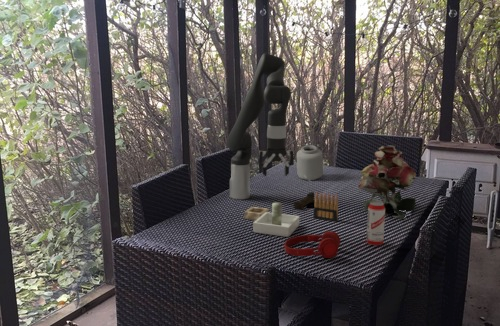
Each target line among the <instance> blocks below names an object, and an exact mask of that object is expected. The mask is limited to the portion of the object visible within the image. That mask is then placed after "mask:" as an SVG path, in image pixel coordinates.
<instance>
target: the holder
mask: <svg viewBox="0 0 500 326" xmlns="http://www.w3.org/2000/svg"><path fill="white" fill-rule="evenodd" d="M265 212H270V208H267V207H257V206H250V207H249V208H248V209H247V210H245V211H244V212H243V213H244V214H243V216H244V217H243V219H245V220H252V221H256V220H257V219H258V218H259V217H261V216H262V215H263V214H264V213H265Z"/></svg>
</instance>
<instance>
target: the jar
mask: <svg viewBox="0 0 500 326" xmlns="http://www.w3.org/2000/svg"><path fill="white" fill-rule="evenodd" d="M308 139H309V140H311V139H310V137H308ZM323 162H324V161H323V151H322V150H321V149H320V148H319V149H318V147H317V146H316V145H313V144H312V145H311V144H310V145H309V144H308V143H306V145H304V146H302V147H301V148H300V149H299V150H298V151H297V152H296V171H297V172H296V173H297V176H298V177H299V179H302V180H304V181H305V180H306V181H315V180H318V179H319V178H321V177H322V176H323V174H324V165H323V164H324V163H323Z"/></svg>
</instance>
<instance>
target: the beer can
mask: <svg viewBox="0 0 500 326" xmlns="http://www.w3.org/2000/svg"><path fill="white" fill-rule="evenodd" d="M367 212H368V213H367V221H366V222H367V223H366V239H365V240H366V243H367V244H368V245H369V244H370V245H369V246H371V245H374V246H373V247H378V246H377V245H380V246H382V245H383V244H384V237H385V223H386V221H385V218H386V215H385V213H386V212H385V207H384V203H382V202H377V201H374V202H370V205H369V207H368V210H367Z"/></svg>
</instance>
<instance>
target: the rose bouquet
mask: <svg viewBox="0 0 500 326" xmlns="http://www.w3.org/2000/svg"><path fill="white" fill-rule="evenodd" d="M377 150H378V151H375V152H374V156H375V158H376V159H374V160H372V164H369V165H368V166H366V167H364V168H363V169H362V171H361V172H360V175H362V176H361V177H360V179H361V181H359V183H358V184H359V185H357V187H358V189H360V190H361V191H366V192H368V193H371V195H370V198H368V199H367V200H365V201H363V202H362V205H363V206H364V208H363V209H362V211H367V214H368V207H369V205H370V202H374V201H377V202H382V203H384V207H385V216H386V215H389V216H390V214H388V213H386V211H387V212H388V210H390V209H393V211H394V213H395V214H397V215H395V216H394V215H392V217H393V218H396V219H398V220H402V219H403V218H404V217H405V214H406V213H404V212H401V211H399V210H406V211H411V210H413V211H414V210H415V206H416V203H417V201H416V198H414V197H405V198H402V195H401V191H402V190H403V191H405V192H406V191H408V192H409V191H410V190H409V189H406V188H409V187H411V186H413V187H414V185H412V183H413V182H414V180H416V179H417V177H416V176H417V174H416V171H415V170H414V169H412V167H411V166H410V165H409V164H408V163H407V162H406V161H405V159H404V158H403V157H400V156H402V154H403V152H402V151H400V150H398V149H396V146H395V145H381V146H380V147H378V149H377ZM396 188H398V189H400V190H398V191H397V192H396ZM390 192H391V195H390ZM375 197H379V198H380V199H377V198H375Z"/></svg>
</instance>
